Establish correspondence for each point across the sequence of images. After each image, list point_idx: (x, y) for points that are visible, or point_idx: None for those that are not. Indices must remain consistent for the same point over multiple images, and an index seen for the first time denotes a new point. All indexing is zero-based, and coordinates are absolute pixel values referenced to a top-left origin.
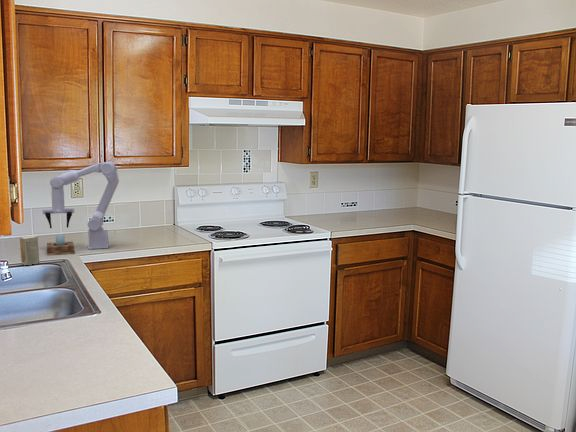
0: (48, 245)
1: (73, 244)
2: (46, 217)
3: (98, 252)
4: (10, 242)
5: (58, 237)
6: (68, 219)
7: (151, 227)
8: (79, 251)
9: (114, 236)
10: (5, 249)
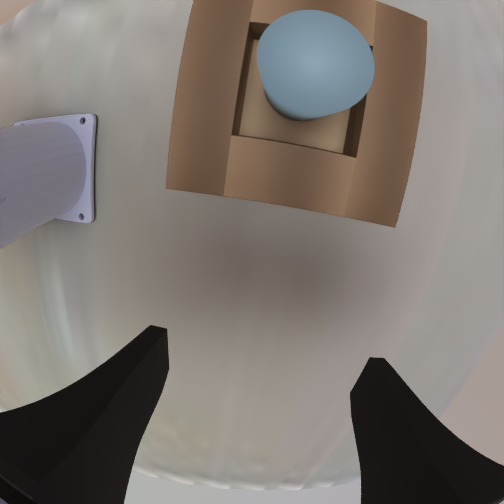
0: (411, 92)
1: (189, 30)
2: (495, 464)
3: (79, 14)
4: None
5: (343, 22)
6: (79, 400)
7: (4, 406)
8: (163, 65)
9: (37, 378)
10: (492, 336)
